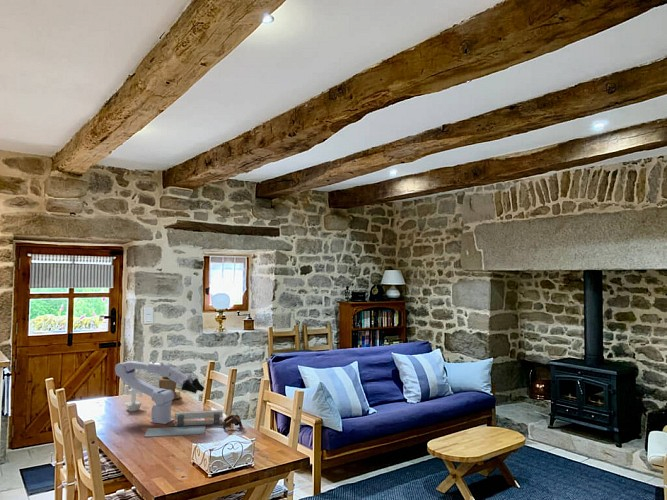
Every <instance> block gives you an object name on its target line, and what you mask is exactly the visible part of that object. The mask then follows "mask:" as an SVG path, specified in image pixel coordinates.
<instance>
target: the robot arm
mask: <svg viewBox="0 0 667 500" xmlns="http://www.w3.org/2000/svg"><path fill="white" fill-rule="evenodd" d="M136 370H142V371H147V372H148V373H149V374H154V375H155V374H156V375H160V376H161V377H162V376H166V377H168V378H169V379H171V380H173V381H174V382H176V383H177V384H176V385H178V386H179V387H181V391H185V392H191V393H194V394H196V393H197V392H199V391H200V392H204V390H205V387H204V386H203V384H202V383H201V382H200V381H199V379H198V378H197V377H195V378H192V375H191V374H189V375H187V374H185V373H183V372H182V371H180V370H179V369H177V368H175V366H174V365H173V364H172V363H170V362H166V363H164V362H157V361H156V360H153V361H150V362H149V363H146V362H141V361H137V360H127V361H124V362H118V363H117V364H115V367H114V372H115V376H117V377H119V378H120V380H121V381H122V382H123V383H124V384H125V386H126V385H128V387H130V388H131V387H132V388H134V389H136V390H138V391H140V392H142V394H144V395H146V396H149V397H150V398H151V401H153V402H154V404H153V405H152V407H151V412H150V413H151V417H150V419H151V420H150V421H149V422H150V423H156V424H163V425H166V424H169V423H170V422H172V421H174V420H175V418H172V402H173V401H174V400H175V399H174V393H173V391H172V390H166V389H162V388H159V387H157V386H154V385H153V384H151V383H148V382H146V381H144V380H142V379H141V378H138V377H136Z"/></svg>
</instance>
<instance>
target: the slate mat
mask: <svg viewBox="0 0 667 500" xmlns="http://www.w3.org/2000/svg"><path fill="white" fill-rule="evenodd" d="M206 427H207V426H192V427H174V426H172V427H154V428H153V427H152V428H149V427H148V428H147V430H146V432H145V434H144V436H143V437H144V438H157V437H175V436H176V437H177V436H193V435H194V436H196V435H197V436H199V434H200V435H205V434H206Z"/></svg>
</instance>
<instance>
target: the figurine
mask: <svg viewBox="0 0 667 500" xmlns="http://www.w3.org/2000/svg"><path fill="white" fill-rule="evenodd" d="M124 394H125V395H126V396H130V395H131V396H130V401H129V402H124V405H125V406H126V409H127V410H128V411H129V412H134V411H139V410H140V408H141V406H142V402H140V401H138V400H137V395H138V398H139V399H141V398H143V393H142V392H140V391H138V390H136V389H134V388H132V387H130V389H129V386H128V385H126V384H125V385H124Z"/></svg>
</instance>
